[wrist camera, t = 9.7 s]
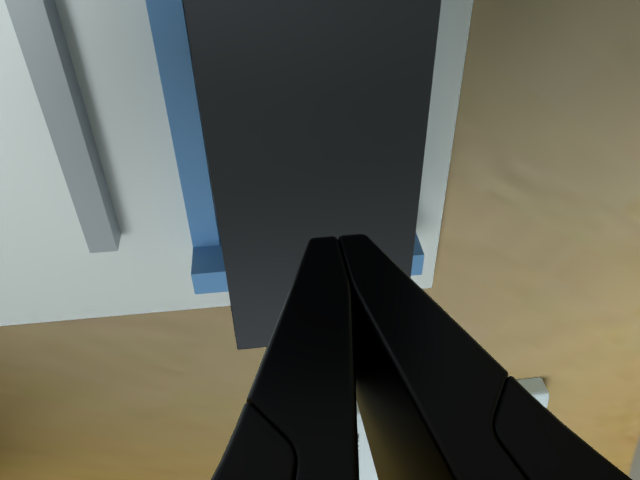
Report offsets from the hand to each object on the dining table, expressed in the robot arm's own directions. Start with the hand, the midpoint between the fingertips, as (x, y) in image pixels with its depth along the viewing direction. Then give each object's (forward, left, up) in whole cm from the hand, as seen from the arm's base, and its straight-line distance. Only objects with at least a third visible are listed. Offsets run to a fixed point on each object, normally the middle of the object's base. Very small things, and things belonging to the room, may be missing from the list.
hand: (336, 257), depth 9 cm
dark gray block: (0, 0, -8) cm, 8 cm away
